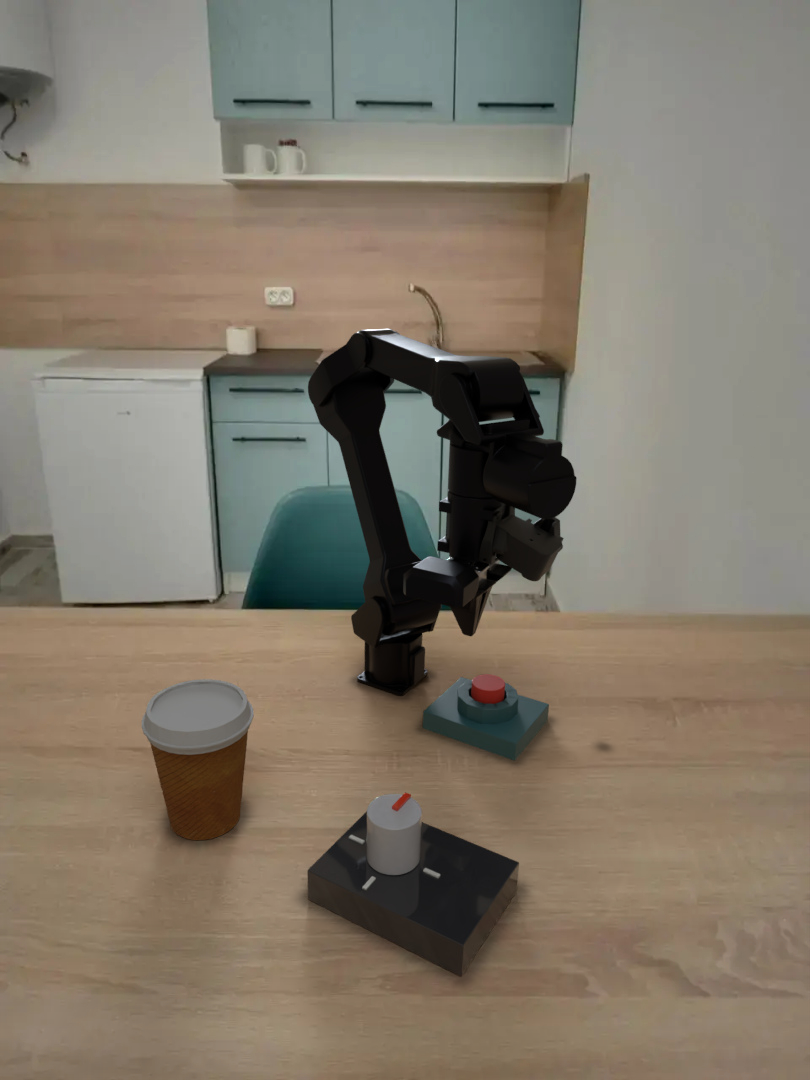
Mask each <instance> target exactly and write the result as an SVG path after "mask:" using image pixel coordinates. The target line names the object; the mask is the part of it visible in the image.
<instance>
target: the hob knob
mask: <svg viewBox="0 0 810 1080" xmlns="http://www.w3.org/2000/svg"><path fill="white" fill-rule="evenodd" d="M366 811H367V847H366V857H367V861H368V863H369V865H370V866H371V867H372V868H373V869H374V870H376V871H378V872H380V873H382V874H386V875H401V874H405V873H407V872H410V871H411V870H413V869H414V868H415V867H416V866H417V865H418V863H419V861H420V850H421V823H422V822H423V810H422V807H421V805H420V803H419V802H418V801H417V800H416V799H414V798H412V794H411V793H408V792H406V791H405V792H404V793H403V794H402V793H386V794H383V795H379V796H377V797H376V798H374V799H372V801H370V803H369V804H368V805H367V808H366Z"/></svg>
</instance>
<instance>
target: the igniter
mask: <svg viewBox="0 0 810 1080" xmlns="http://www.w3.org/2000/svg"><path fill="white" fill-rule="evenodd" d="M472 680H473V679H470V678H467V677H464V676H460V677H459V678H458V679H457V680H456V681H455V682H453V684H452V685H450V687H448V688H447V689H446V690H445V691H444V692H443V693H442V694H440V696H438V697H437V698H436V699H434V701H433V702H432V703H430V705H428V706H427V707H426V708H425V709H424V710H423V712H422V729H424V730H427V731H429V732H431V733H434V734H438V735H440V736H444V737H446V738H449V739H452V740H455V741H457V742H461V743H463V744H466V745H469V746H471V747H475V748H477V749H480V750H483V751H485V752H488V753H492V754H494V755H498V756H500V757H502V758H506V759H508V760H512V761H514V762H515V761H516V760H517V759H518V758H519V757H520V756H521V754H522V753H523V752H524V750H525V749H526V748H527V747H528V745H529V744H530V743H531V742H532V740H533V739H534V738H535V737H536V735H538V733H539V732H540V731H541V730H542V728H543V727H544V726H545V724H547V722H548V720H549V709H550V703H546V702H544V701H541V700H537V699H534V698H530V697H528V696H525V695H520V694H518V691H517V689H516V688H514V687H513V686H512V685H511V684H509V682H505V694H504V700H503V701H502V702H499V703H495V704H487V703H481V702H478V701H475V700H474V699H473V698H472V697H471V689H472Z"/></svg>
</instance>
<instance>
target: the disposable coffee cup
mask: <svg viewBox="0 0 810 1080" xmlns="http://www.w3.org/2000/svg"><path fill="white" fill-rule="evenodd" d="M253 719H254V708H253V705H252V704H251V702H250V701H249V700H248V697H247V694H246V692H245V691H244V690H243V689H242V688H241V687H239V686H238V685H236V684H234V683H232V682H230V681H229V682H228V681H225V680H221V679H213V678H201V679H192V680H185V681H182V682H178V683H176V684H173V685H170V686H168V687H165V688H163V689H162V690H160V691H159V692H157V693H155V694H154V695H152V697H151V698H150V699H149V701H148V703H147V705H146V707H145V712H144V714H143V715H142V719H141V729H142V733H143V735H144V736H145V737H146V739H147V741H148V742H149V744H150V748H151V751H152V756H153V761H154V764H155V768H156V772H157V776H158V780H159V784H160V789H161V791H162V797H163V800H164V804H165V808H166V812H167V816H168V820H169V823H170V828H171V829H172V831H173V832H174V833H175V834H176V835H177V836H179V837H181V838H184V839H186V840H191V841H203V840H205V841H206V840H211V839H215V838H217V837H221V836H222V835H224V834H226V833H228V832H230V831H231V830H233V828H234V827H235V826H236V825H237V824H238V823H239V820H240V817H241V809H242V799H243V787H244V779H245V777H244V776H245V767H246V766H245V765H246V756H247V745H248V734H249V729H250V726H251V724H252V722H253Z"/></svg>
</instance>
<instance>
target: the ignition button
mask: <svg viewBox="0 0 810 1080" xmlns="http://www.w3.org/2000/svg"><path fill="white" fill-rule="evenodd" d="M471 680H472V689H471V697H472V698H473V699H474V700H475V701H478V702H481V703H487V704H495V703H499V702H502V701H503V700H504V694H505V683H506V681H505V680H504V679H503V678H501V676H498V675H496V674H492V673H491V674H490V673H489V674H488V673H483V674H478V675H476V676H474V677H473V678H472V679H471Z"/></svg>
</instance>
